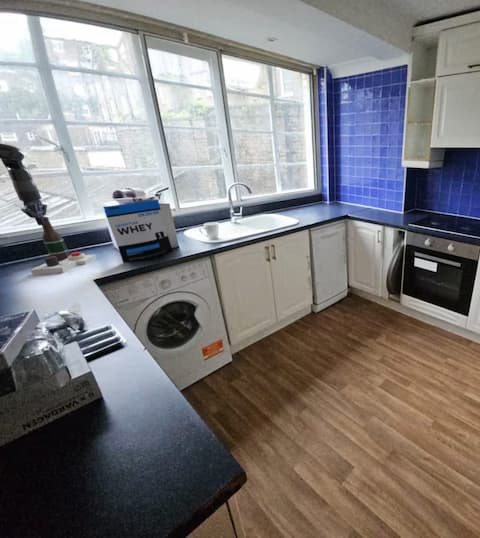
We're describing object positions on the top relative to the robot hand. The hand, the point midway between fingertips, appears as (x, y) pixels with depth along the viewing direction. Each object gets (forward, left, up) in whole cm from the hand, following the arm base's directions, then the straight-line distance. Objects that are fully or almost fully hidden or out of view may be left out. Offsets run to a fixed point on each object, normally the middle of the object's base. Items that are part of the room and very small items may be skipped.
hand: (42, 224), depth 149 cm
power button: (+8, +1, -18) cm, 20 cm away
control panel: (+4, -10, -22) cm, 24 cm away
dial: (+4, -10, -19) cm, 22 cm away
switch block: (+8, +1, -22) cm, 23 cm away
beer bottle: (-5, +9, -22) cm, 24 cm away
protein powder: (+43, 0, -22) cm, 49 cm away
